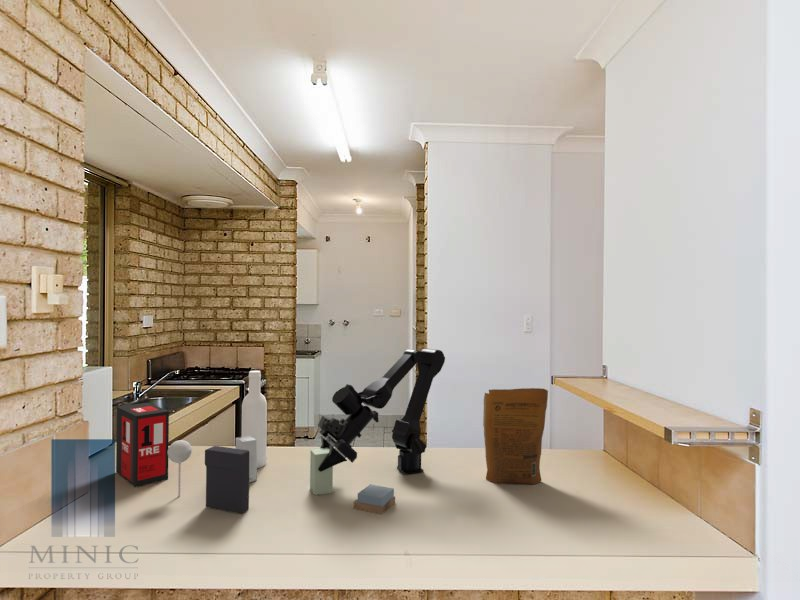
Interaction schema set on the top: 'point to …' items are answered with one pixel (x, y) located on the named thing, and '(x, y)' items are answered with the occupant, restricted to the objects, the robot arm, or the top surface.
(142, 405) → the cleaning product box
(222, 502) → the calculator
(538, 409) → the pancake mix bag
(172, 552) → the top surface
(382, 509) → the walnut base block
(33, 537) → the top surface
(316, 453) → the sage block
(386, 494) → the slate top block
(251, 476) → the skincare box
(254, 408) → the bottle
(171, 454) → the lollipop
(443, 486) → the top surface
